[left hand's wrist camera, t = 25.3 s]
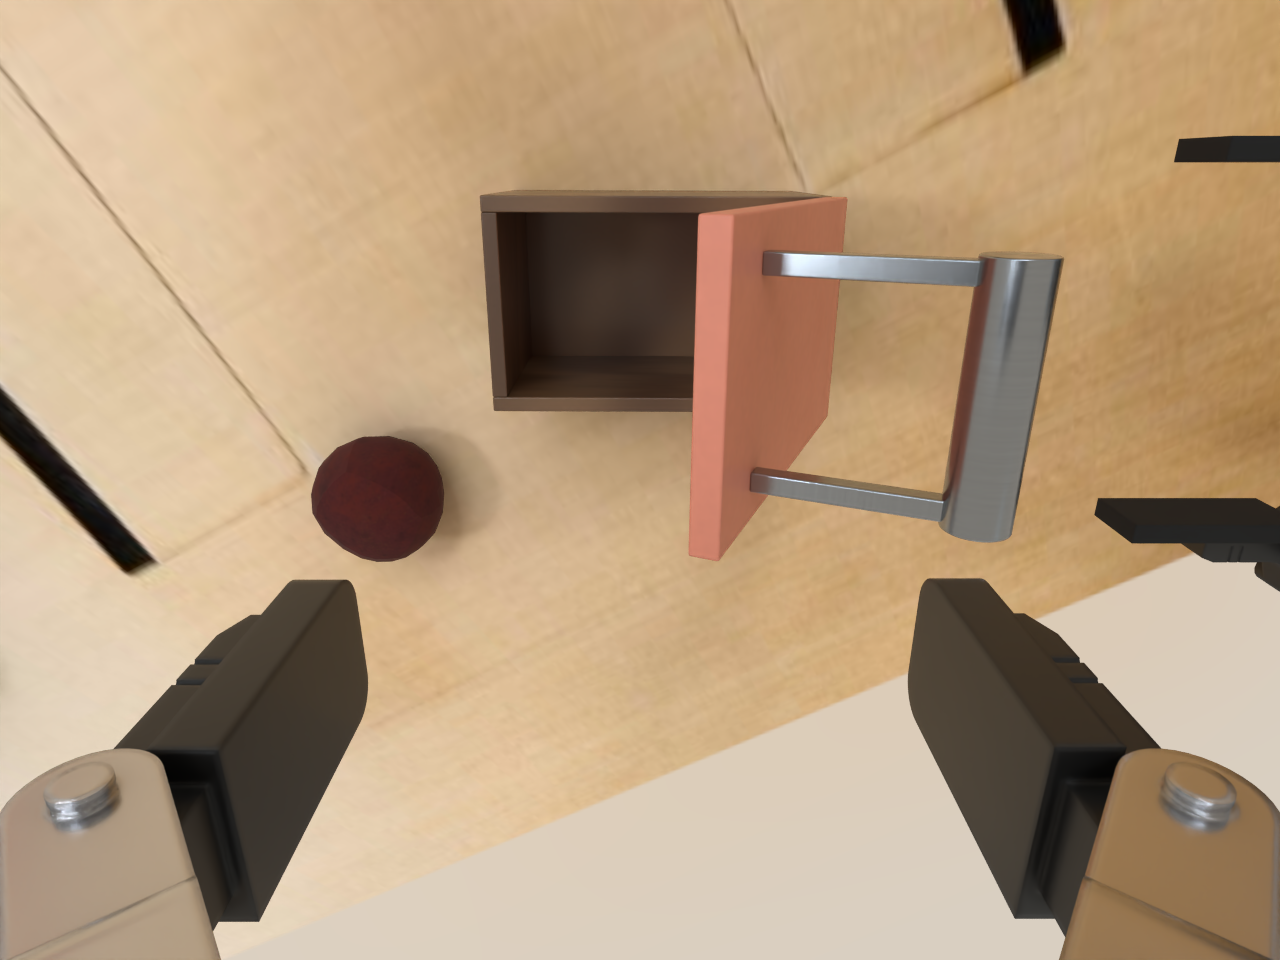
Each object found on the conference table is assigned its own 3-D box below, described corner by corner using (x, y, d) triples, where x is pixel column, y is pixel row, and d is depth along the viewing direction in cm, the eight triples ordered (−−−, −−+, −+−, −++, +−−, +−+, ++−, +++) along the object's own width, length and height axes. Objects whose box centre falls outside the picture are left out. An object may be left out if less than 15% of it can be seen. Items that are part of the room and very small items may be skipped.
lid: (687, 556, 25) (1005, 618, 21) (697, 213, 21) (1082, 223, 18) (806, 414, 39) (1007, 438, 36) (824, 197, 35) (1049, 200, 32)
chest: (522, 364, 49) (493, 411, 39) (513, 190, 45) (479, 195, 36) (780, 365, 49) (814, 412, 39) (792, 191, 45) (833, 196, 36)
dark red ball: (422, 548, 53) (391, 602, 47) (316, 488, 52) (269, 534, 45) (477, 463, 51) (453, 506, 44) (369, 397, 49) (327, 431, 43)
